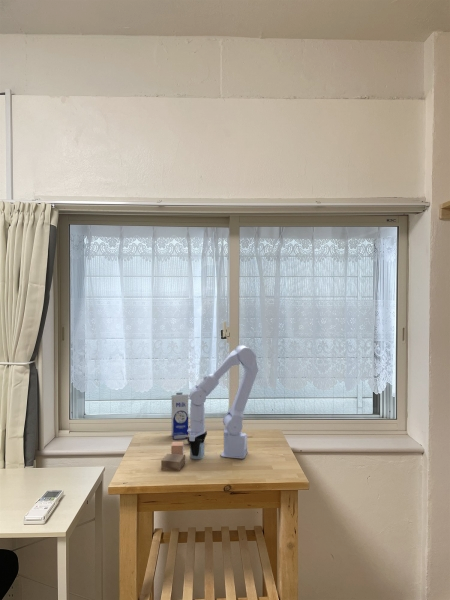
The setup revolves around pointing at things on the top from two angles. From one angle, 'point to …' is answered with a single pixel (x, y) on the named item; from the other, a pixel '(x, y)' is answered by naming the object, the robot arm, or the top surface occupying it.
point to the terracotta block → (177, 448)
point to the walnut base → (173, 462)
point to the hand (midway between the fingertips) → (197, 453)
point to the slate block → (201, 452)
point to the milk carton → (179, 416)
